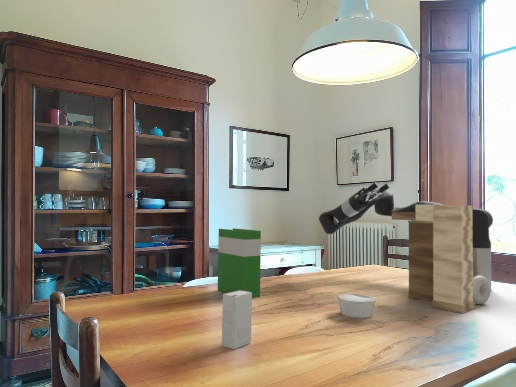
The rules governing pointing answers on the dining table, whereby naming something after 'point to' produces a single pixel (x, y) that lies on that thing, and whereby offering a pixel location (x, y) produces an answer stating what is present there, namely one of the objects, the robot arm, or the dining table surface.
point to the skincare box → (236, 319)
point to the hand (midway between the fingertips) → (382, 185)
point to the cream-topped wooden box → (421, 259)
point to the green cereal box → (239, 261)
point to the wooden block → (453, 258)
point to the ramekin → (356, 305)
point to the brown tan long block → (416, 214)
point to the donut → (480, 289)
